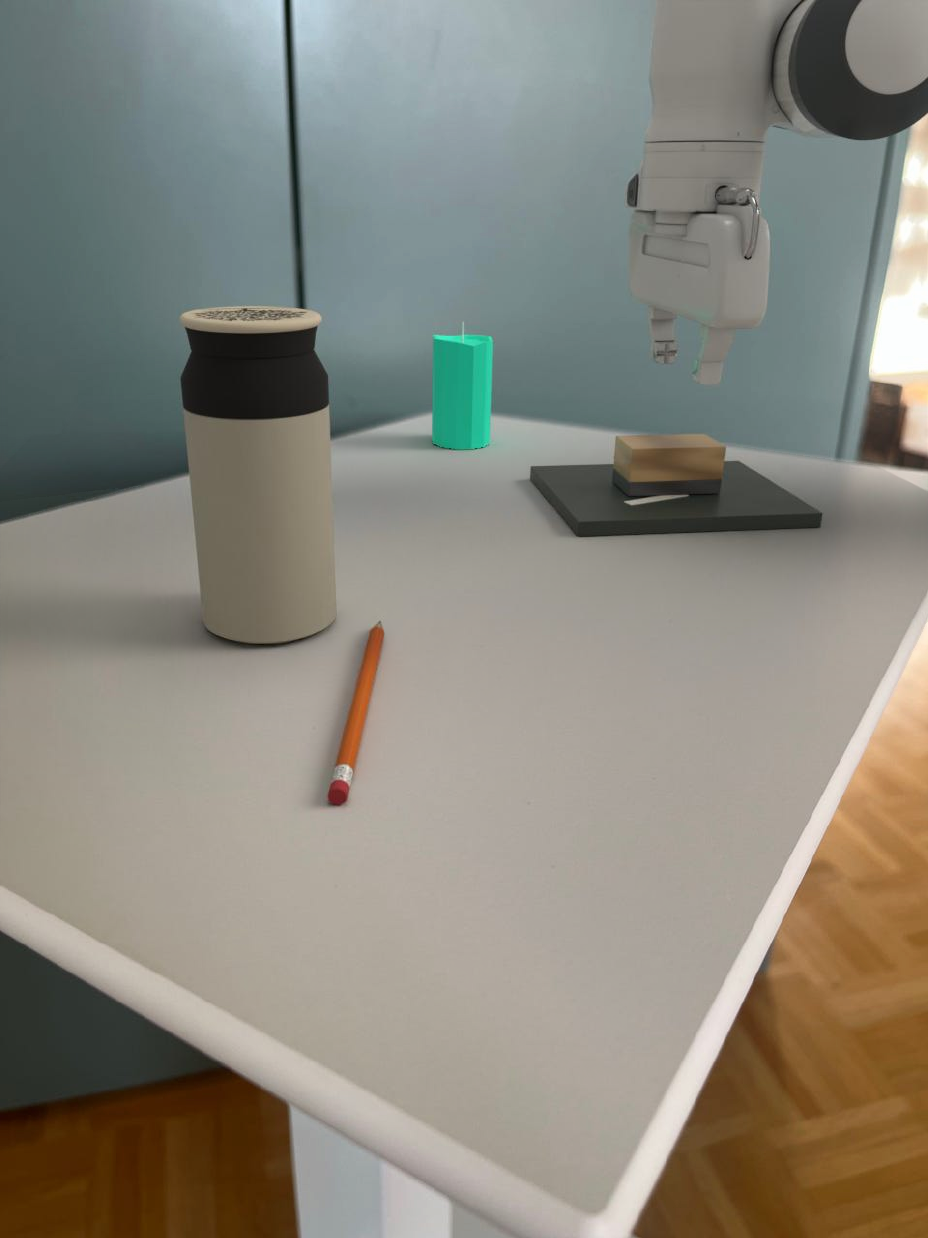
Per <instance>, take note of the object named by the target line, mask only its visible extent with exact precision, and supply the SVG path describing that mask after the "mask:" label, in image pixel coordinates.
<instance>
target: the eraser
mask: <svg viewBox="0 0 928 1238" xmlns="http://www.w3.org/2000/svg"><path fill="white" fill-rule="evenodd" d="M726 450H727V446H726V445H724V444H723V443H721V442H719V441H717V440H716V439H714V438H713V437H711V436H710V435H708V434H706V433H678V434H676V433H675V434H674V433H673V434H634V435H633V434H632V435H631V434H630V435H628V434H627V435H626V434H625V435H615V441H614V453H613V463H612V464H613V475H612V482H613V483H614V484H616V485H617V486H618V487H619V488H620V489H621V490H622V491H623V492H624V493H625V494H626V495H628V496H659V495H690V494H720V491H721V483H722V480H721V479H722V475H723V467H724V461H725V458H726Z"/></svg>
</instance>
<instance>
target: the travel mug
mask: <svg viewBox="0 0 928 1238" xmlns="http://www.w3.org/2000/svg"><path fill="white" fill-rule="evenodd" d="M322 321H323V319H322V316H321V314H320V313H319V312H316V311H314V310H311V309H304V308H296V307H290V306H289V307H288V306H287V307H286V306H270V305H268V306H267V305H239V306H237V305H236V306H235V305H234V306H217V307H216V306H215V307H207V308H206V307H205V308H198V309H193V310H188V311H185V312H183V313H181V315H180V316H179V324H181V326H183V327H184V329H185V332H186V336H187V341H188V343H189V348H190V353H189V356H188V359H187V361H186V363H185V366H184V368H183V371H182V372H181V375H180V388H181V389H180V391H181V401H182V410H183V412H182V413H183V421H184V432H185V433H184V434H185V441H186V452H187V453H186V454H187V461H188V462H187V464H188V474H189V486H190V495H191V506H192V516H193V528H194V538H195V539H194V540H195V548H196V550H195V551H196V560H197V569H198V580H199V590H200V591H199V592H200V601H201V613H202V622H203V624H204V626H205V628H206V629H207V630H208V631H209V632H211V633H213V634H214V635H216V636H219V637H221V638H224V639H227V640H230V641H233V642H236V643H244V644H250V645H278V644H286V643H290V642H294V641H297V640H301V639H305V638H309V637H311V636H312V635H314V634H316V633H318V632H320V631H323V630H324V629H326V628H327V627H328V626H330V625H331V624H332V623H333V622H335V620H336V618H337V587H336V560H335V533H334V504H333V502H334V501H333V475H332V472H333V471H332V449H331V445H332V443H331V419H330V392H329V388H330V387H329V374H328V372H327V371H326V368H325V366H324V365H323V363H322V362H321V360H320V357H319V355H318V354H317V352H316V350H315V348H316V337H317V331H318V327H319V326H320V324H321V323H322Z"/></svg>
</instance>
